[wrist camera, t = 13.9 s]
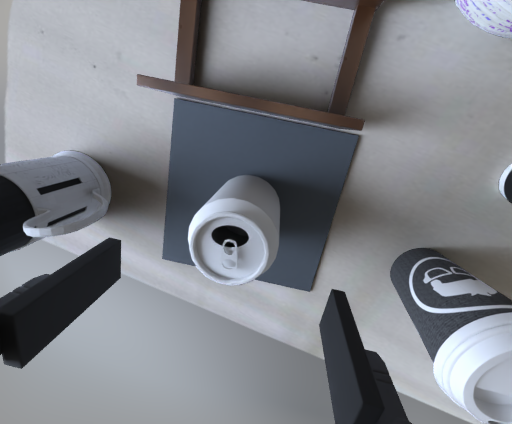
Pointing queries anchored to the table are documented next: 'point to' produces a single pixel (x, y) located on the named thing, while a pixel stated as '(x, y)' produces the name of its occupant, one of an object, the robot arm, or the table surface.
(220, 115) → the mat
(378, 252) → the table surface
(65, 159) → the glass holder
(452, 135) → the table surface
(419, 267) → the coffee cup
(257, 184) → the can
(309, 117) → the rack
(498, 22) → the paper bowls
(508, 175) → the dixie cup
